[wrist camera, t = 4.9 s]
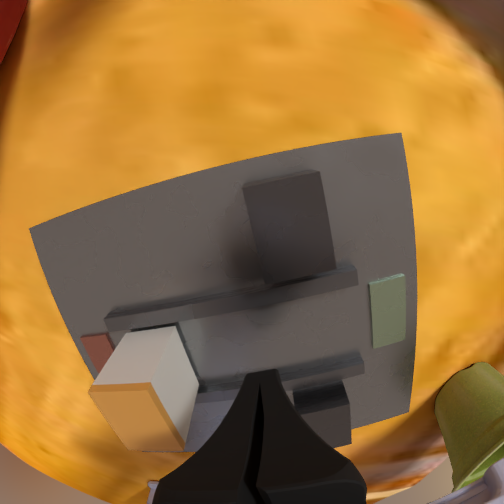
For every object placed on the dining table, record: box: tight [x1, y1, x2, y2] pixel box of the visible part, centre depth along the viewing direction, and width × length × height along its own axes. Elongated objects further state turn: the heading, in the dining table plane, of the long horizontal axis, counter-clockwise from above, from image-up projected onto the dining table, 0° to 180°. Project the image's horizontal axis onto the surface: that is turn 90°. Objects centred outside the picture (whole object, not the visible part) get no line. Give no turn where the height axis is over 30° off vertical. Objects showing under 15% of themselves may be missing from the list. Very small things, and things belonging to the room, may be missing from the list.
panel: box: [29, 133, 417, 452], centre depth 16 cm, size 20×18×4 cm
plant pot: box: [434, 362, 504, 492], centre depth 15 cm, size 9×9×9 cm
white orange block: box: [88, 326, 199, 451], centre depth 14 cm, size 3×4×5 cm
